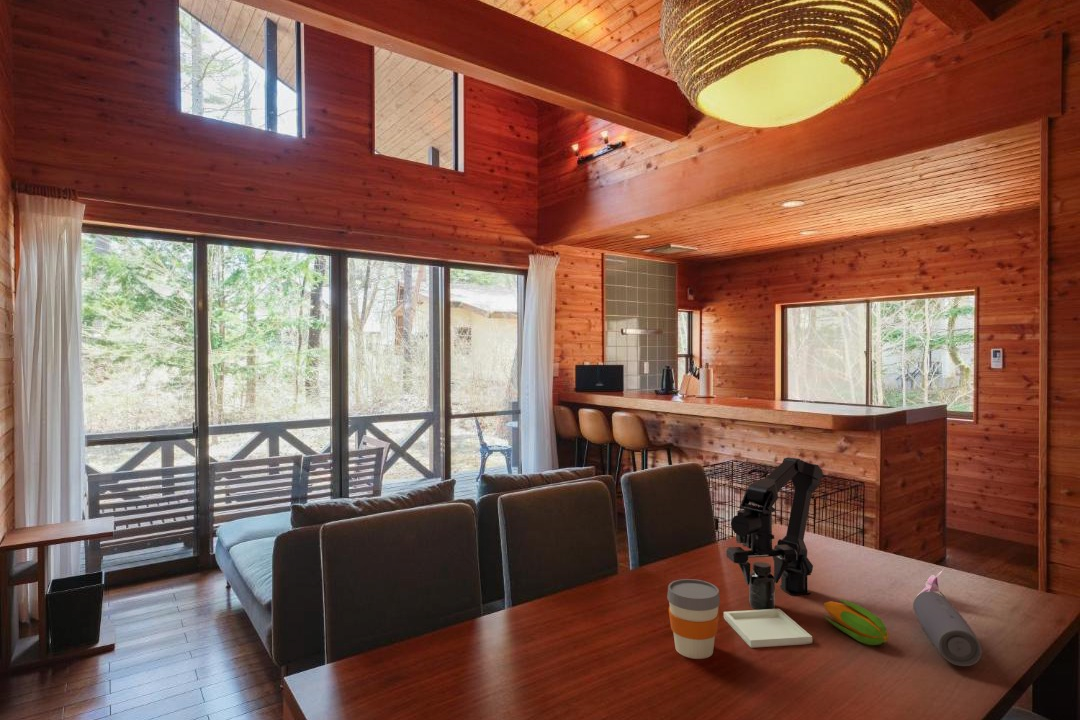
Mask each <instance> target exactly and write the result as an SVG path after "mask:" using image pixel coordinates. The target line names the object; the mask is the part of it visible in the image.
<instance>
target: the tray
mask: <svg viewBox="0 0 1080 720" xmlns="http://www.w3.org/2000/svg"><path fill="white" fill-rule="evenodd" d="M723 619H724V620H725V621H726V622H727V624H728V625H729V626H730V627H731V628H732V629H733V630H734V631H735V633H737V634H738V635H739V637H740V638H741V639H742V640H743V641H744V642H745V643H746V644H747V646H748V647H749V648H752V649H753V648H765V647H766V648H767V647H768V648H769V647H783V646H784V647H785V646H797V645H811V644H812V645H813V636H812V634H810V633H808V632H807V630H805V629H804V628H803V627H802V626H800V625H799V624H798V623H797V621H795V620H793V618H791V617H790V616H789V615H788V614H786V613H785V612H784V611H783V610H782V609H781V608H774V609H764V610H758V609H751V610H734V611H732V610H731V611H723Z"/></svg>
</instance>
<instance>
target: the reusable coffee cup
mask: <svg viewBox="0 0 1080 720" xmlns="http://www.w3.org/2000/svg"><path fill="white" fill-rule="evenodd" d="M666 599H667V600H668V603H669V606H668V615H669V622H670V629H671V631H672V633H673V638H674V646H675V647H674V648H675V650H676V652H677V653H679V654H680V656H681V655H682V656H683V657H686V658H687V659H696V660H702V659H707V658H709V657H711V656H712V655H713V653H714V647H715V638H716V637H715V636H717V634H718V627H719V620H720V619H719V618H720V612H719V606H720V604H721V598H720V590H719V588H718V587H717V586H716V585H715V584H713V583H711V582H708V581H704V580H701V579H695V578H694V579H693V578H692V579H691V578H684V579H678V580H673V581H671V582H670V583H668V586H667V597H666Z"/></svg>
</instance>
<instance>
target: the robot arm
mask: <svg viewBox="0 0 1080 720" xmlns="http://www.w3.org/2000/svg"><path fill="white" fill-rule="evenodd" d="M823 473H824V472H823V469H822V468H821V467H820V465H818V464H814V463H809V462H806V461H804V460H803V459H801V458H797V457H789V456H787V457H784V458H783V460H782V462H781V463H780V464H779V465H778V466H777V467H776V468H774V470H773V471H771V472H770V473H769V475H767V477H765V478H763V479H760V480H755V481H754V482H752V483H750V484H749V485H748V486H747V488H746V490H745V493H744V495H743V498H742V500H741V503H740V505H739V510H737V513H736V515H735V516H733V518H732V519H731V521H730V525H731V529H732V530H733V532H734V534H735V540H736V543H737V544H742V547H746V548H747V549H749V550H744V549H743V548H742V547H741V546H733V547H732V546H728V547H727V549H726V554H725V555H726V557H727V558H728V559H729V560H730V561H732V562H733V563H734V564H737V565H738V566H739V568H740V571H741V572H742V575H743V578H744V581H745V583H746V585H748V586H749V583H750V573H751V563H750V562H749V558H751V559H752V558H767V557H768V558H769V557H772V560H773V563H774V564H773V565H774V566H773V576H774V579H775V584H778V583H779V581H780V585H779V587H780V588H781V589H782V590H783V591H785V592H786V594H789V595H791V596H795V595H796V596H797V595H798V596H799V595H811V591H810V590H809V589H808V576H811V574H812V573H813V571H814V570H813V569H814V565H813V563H812V562H811V561H810V559H809V558H808V549H807V548H808V547H807V546H806V543H805V542H804V539H805V533H806V527H807V523H808V522H807V521H808V518H809V517H808V516H809V512H810V507H811V506H810V505H811V501H812V500H811V499H812V495H813V493H814V492H815V491H816V490H817V489H818V488H819V487H820V484H821V481H822V478H823V477H824V476H823V475H824V474H823ZM790 481H791V483H792V486H793V487H794V491H793V492H794V493H793V497H792V503H791V508H790V512H789V517H788V524H787V530H786V534H785V536H784V537H783V538H782V539H778V541H777V543H776V544H775V546H774V547H773V540H774V539H775V535H774V534H773V522H772V521H773V515H772V514H773V513H776V509H775V507H774V505H775V503H776V502H777V501H778V500H779V492H780V491H781V489H783V488H784V487H785V486H786V485H787V484H788V483H789V482H790ZM780 579H781V580H780Z"/></svg>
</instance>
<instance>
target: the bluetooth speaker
mask: <svg viewBox="0 0 1080 720" xmlns="http://www.w3.org/2000/svg"><path fill="white" fill-rule="evenodd" d="M919 593H920V592H919ZM919 593H918V594H919ZM918 594H917V595H918ZM917 595H916V596H917ZM916 596H915V598H914V599H915V600H913V603H912V607H913V611H914V614H915V616H916V618H917V620H918V623H919V624H920V626H921V628H922V630H923V632H924V634H925V635H926V637H927V638H928V639H929V641H930V642H931V644H932V645H933V647H935V649H936V651H938V653H939V654H940V655H941V656H942V657H943V658H944V659H945V660H946V661H947V662H949V663H950V664H952V665H955V666H959V667H970V666H973V665H975V664H977V663H978V662H979V661H980V659H981V658H982V654H983V650H982V646H981V643H980V641H979V638H978V637H977V636H976V634H975V633H974V631H973V629H972V628H971V626H970V625H969V624H968V622H967V621H966V620H965V618H964V617H963V616H962V614H961V613H960V612H959V611H958V610H957V608H955V607H954V606H953V604H952V603H951V602H950V601H949V600H947V598H946V597H945V598H946V599H945V598H944V597H943V596H942V594H941V593H939V592H938V593H937V592H936V591H935V592H931V591H927V592H922V593H920V594H919V595H918V596H917V597H916Z"/></svg>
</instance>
